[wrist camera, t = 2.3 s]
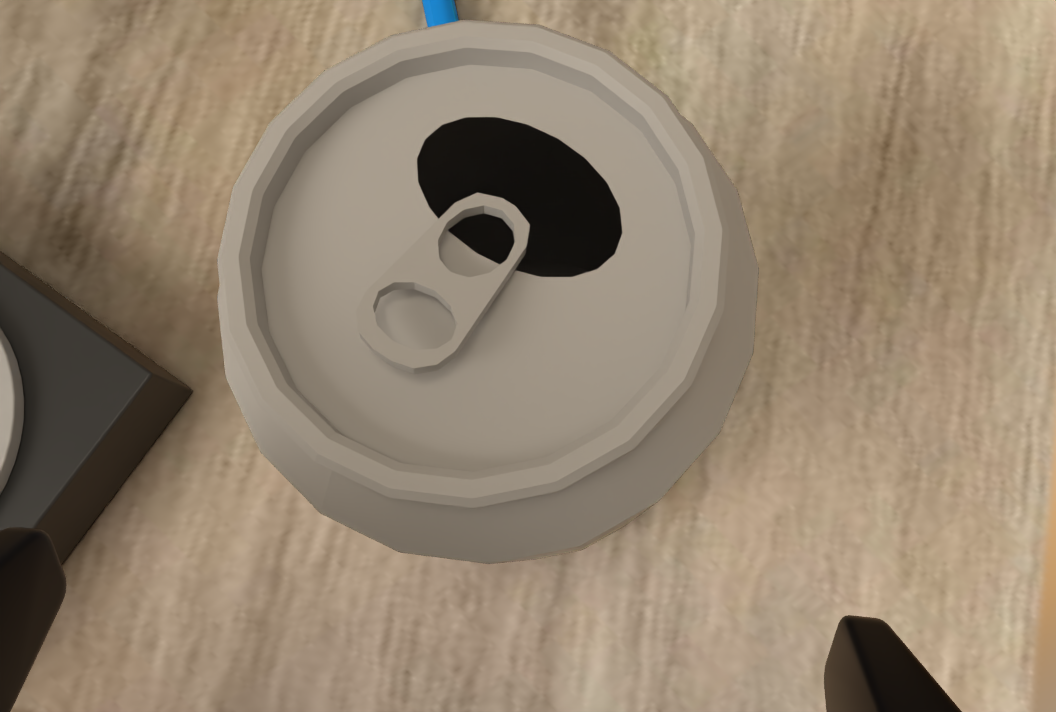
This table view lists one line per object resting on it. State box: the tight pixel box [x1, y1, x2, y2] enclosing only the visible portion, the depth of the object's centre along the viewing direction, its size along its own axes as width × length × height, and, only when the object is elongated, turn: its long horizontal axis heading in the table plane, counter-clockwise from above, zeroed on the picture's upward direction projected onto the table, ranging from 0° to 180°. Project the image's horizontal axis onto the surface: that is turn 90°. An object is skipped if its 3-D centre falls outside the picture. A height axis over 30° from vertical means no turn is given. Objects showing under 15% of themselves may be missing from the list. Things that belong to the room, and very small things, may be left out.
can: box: [217, 20, 759, 564], centre depth 16 cm, size 8×8×12 cm
